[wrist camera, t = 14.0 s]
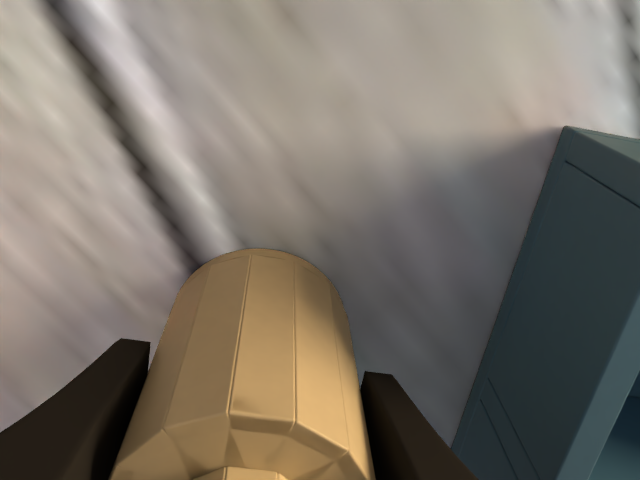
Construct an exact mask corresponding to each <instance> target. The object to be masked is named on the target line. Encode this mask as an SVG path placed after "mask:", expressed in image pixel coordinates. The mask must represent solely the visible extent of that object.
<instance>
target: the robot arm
mask: <svg viewBox="0 0 640 480" xmlns="http://www.w3.org/2000/svg"><path fill="white" fill-rule="evenodd" d="M150 343H151V342H145V341H138V340H130V339H123V338H121V339H119V340H118V341H116V342H115V343H114V344H113V345H112V346H111V347H110V348H109V349H107V350H106V351H105V352H104V353H103V354H102V355H101V356H100V357H99V358H98V359H97V360H95V361H94V362H93V363H92V364H91V365H90V366H89V367H87V368H86V369H85V370H84V371H83V372H82V373H80V374H79V375H78V376H77V377H76V378H74V379H73V380H72V381H71V382H69V383H68V384H67V385H66V386H65V387H63V388H62V389H61V390H60V391H58V392H57V393H56V394H55V395H53V396H52V397H51V398H49V399H48V400H46V401H45V402H44V403H42V404H41V405H40V406H38V407H37V408H35V409H34V410H33V411H31V412H30V413H29V414H27V415H26V416H25V417H23V418H22V419H20V420H19V421H17V422H16V423H14V424H13V425H11V426H10V427H8V428H7V429H5V430H3V431H2V432H0V480H108V479H109V476H110V473H111V471H112V468H113V465H114V463H115V460H116V457H117V455H118V452H119V449H120V446H121V444H122V441H123V438H124V436H125V433H126V430H127V428H128V425H129V422H130V420H131V417H132V414H133V412H134V409H135V406H136V404H137V401H138V398H139V396H140V393H141V390H142V388H143V385H144V382H145V379H146V377H147V374H148V364H149V354H150ZM360 392H361V397H362V403H363V409H364V415H365V420H366V426H367V432H368V438H369V443H370V449H371V455H372V461H373V466H374V472H375V478H376V480H479V479H478V478H477V477H476V476H475V475H474V474H473V473H472V472H471V471H470V470H469V469H468V468H467V467H466V466H465V464H464V463H463V462H462V461H461V460H460V459H459V458H458V457H457V456H456V455H455V454H454V452H453V451H452V450H451V449H450V448H449V447H448V446H447V444H446V443H445V442H444V441H443V440H442V438H441V437H440V436H439V435H438V434H437V432H436V431H435V430H434V429H433V428H432V426H431V425H430V424H429V423H428V421H427V420H426V419H425V417H424V416H423V415H422V414H421V412H420V411H419V410H418V408H417V407H416V406H415V404H414V403H413V402H412V400H411V399H410V398H409V396H408V395H407V394H406V392H405V391H404V390H403V388H402V387H401V386H400V384H399V383H398V382H397V380H396V379H395V378H394V377H393V375H391V374H383V373H376V372H368V371H365V373H364V377H363V381H362V385H361V388H360Z"/></svg>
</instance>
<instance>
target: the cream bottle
mask: <svg viewBox="0 0 640 480" xmlns="http://www.w3.org/2000/svg"><path fill="white" fill-rule="evenodd" d="M108 480H376V478H375V472H374V466H373V461H372V455H371V449H370V443H369V438H368V432H367V426H366V420H365V415H364V409H363V403H362V397H361V392H360V386H359V380H358V374H357V369H356V363H355V357H354V351H353V346H352V340H351V334H350V328H349V323H348V317H347V314H346V312H345V310H344V307H343V303H342V301H341V298H340V296H339V294H338V292H337V290H336V289H335V287H334V286H333V284H332V283H331V282H330V281H329V279H328V278H327V277H326V276H325V275H324V274H323V273H322V272H321V271H319V270H318V269H317V268H316V267H314V266H313V265H311V264H310V263H308V262H307V261H305V260H303V259H301V258H299V257H297V256H294V255H291V254H289V253H286V252H282V251H277V250H272V249H244V250H238V251H234V252H230V253H226V254H224V255H221V256H219V257H216V258H214V259H212V260H211V261H209V262H207V263H205V264H204V265H203V266H201V267H200V268H199V269H197V270H196V271H195V272H194V273H193V274H192V275H191V276H190V277H189V278H188V279H187V281H186V282H185V283H184V285H183V286H182V287H181V289H180V291H179V292H178V294H177V297H176V299H175V302H174V305H173V307H172V310H171V312H170V315H169V317H168V320H167V323H166V325H165V328H164V331H163V333H162V336H161V339H160V341H159V344H158V347H157V349H156V352H155V355H154V358H153V360H152V363H151V366H150V368H149V371H148V374H147V377H146V379H145V382H144V385H143V388H142V390H141V393H140V396H139V398H138V401H137V404H136V406H135V409H134V412H133V414H132V417H131V420H130V422H129V425H128V428H127V430H126V433H125V436H124V438H123V441H122V444H121V446H120V449H119V452H118V455H117V457H116V460H115V463H114V465H113V468H112V471H111V473H110V476H109V479H108Z"/></svg>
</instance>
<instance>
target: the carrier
mask: <svg viewBox="0 0 640 480" xmlns="http://www.w3.org/2000/svg"><path fill="white" fill-rule="evenodd" d="M451 450H452V451H453V452H454V454H455V455H456V456H457V457H458V458H459V459H460V460H461V461H462V462H463V463H464V464H465V466H466V467H467V468H468V469H469V470H470V471H471V472H472V473H473V474H474V475H475V476H476V477H477V478H478V479H479V480H640V140H639V139H633V138H628V137H623V136H618V135H612V134H607V133H602V132H597V131H591V130H586V129H581V128H576V127H570V126H565V127H564V128H563V131H562V134H561V136H560V139H559V142H558V145H557V148H556V151H555V154H554V156H553V159H552V162H551V165H550V168H549V171H548V174H547V176H546V179H545V182H544V185H543V188H542V191H541V194H540V196H539V199H538V202H537V205H536V208H535V211H534V214H533V216H532V219H531V222H530V225H529V228H528V231H527V234H526V237H525V239H524V242H523V245H522V248H521V251H520V254H519V257H518V259H517V262H516V265H515V268H514V271H513V274H512V277H511V279H510V282H509V285H508V288H507V291H506V294H505V297H504V299H503V302H502V305H501V308H500V311H499V314H498V317H497V319H496V322H495V325H494V328H493V331H492V334H491V337H490V339H489V342H488V345H487V348H486V351H485V354H484V357H483V360H482V362H481V365H480V368H479V371H478V374H477V377H476V380H475V382H474V385H473V388H472V391H471V394H470V397H469V400H468V402H467V405H466V408H465V411H464V414H463V417H462V420H461V422H460V425H459V428H458V431H457V434H456V437H455V440H454V442H453V445H452V448H451Z"/></svg>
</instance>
